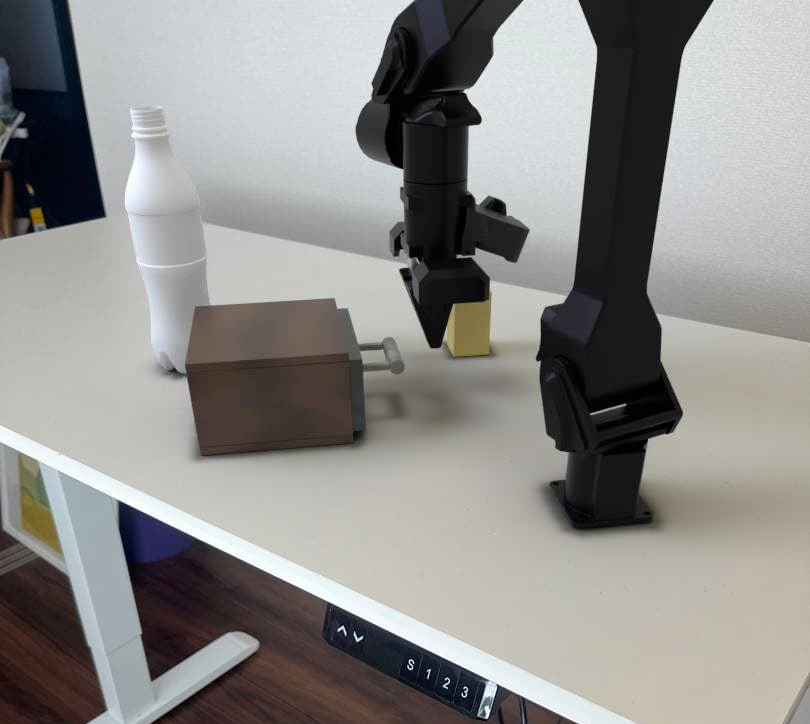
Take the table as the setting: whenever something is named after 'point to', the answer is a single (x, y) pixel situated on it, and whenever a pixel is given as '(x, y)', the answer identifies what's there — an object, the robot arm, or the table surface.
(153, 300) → the water bottle
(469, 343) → the block
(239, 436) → the cabinet
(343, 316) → the drawer
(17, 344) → the table surface
